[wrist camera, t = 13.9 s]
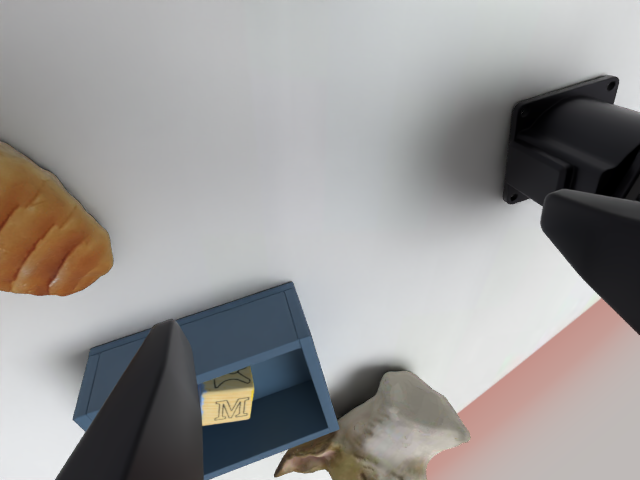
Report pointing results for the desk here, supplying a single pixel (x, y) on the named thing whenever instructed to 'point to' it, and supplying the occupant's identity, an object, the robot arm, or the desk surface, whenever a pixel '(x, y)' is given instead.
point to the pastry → (45, 232)
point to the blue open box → (231, 355)
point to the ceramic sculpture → (384, 435)
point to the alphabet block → (227, 397)
